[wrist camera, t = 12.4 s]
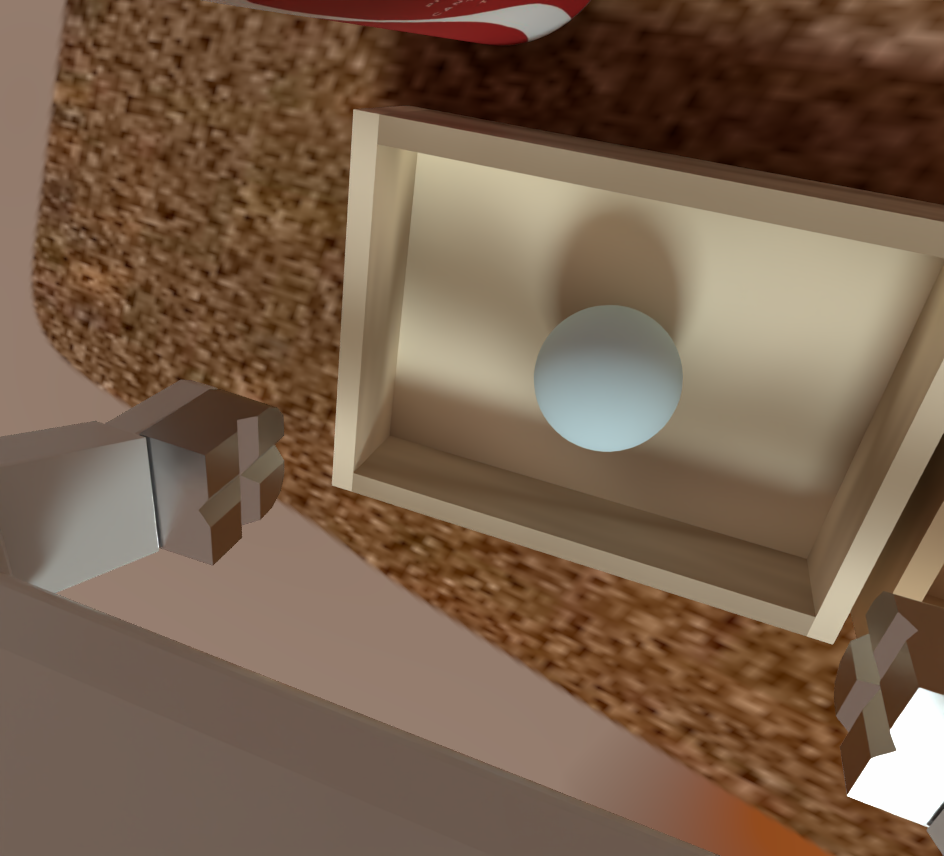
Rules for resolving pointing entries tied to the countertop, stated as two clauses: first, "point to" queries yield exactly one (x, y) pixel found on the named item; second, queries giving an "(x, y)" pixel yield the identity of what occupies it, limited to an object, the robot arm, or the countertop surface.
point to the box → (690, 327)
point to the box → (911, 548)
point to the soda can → (439, 16)
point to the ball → (608, 378)
